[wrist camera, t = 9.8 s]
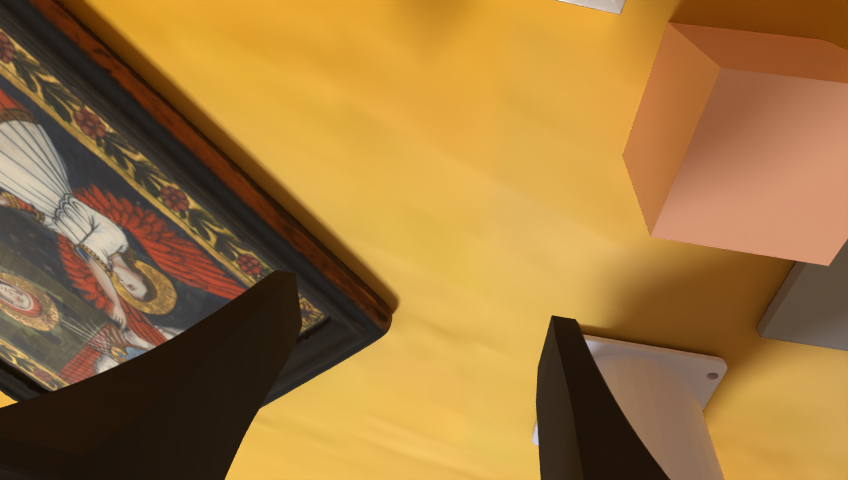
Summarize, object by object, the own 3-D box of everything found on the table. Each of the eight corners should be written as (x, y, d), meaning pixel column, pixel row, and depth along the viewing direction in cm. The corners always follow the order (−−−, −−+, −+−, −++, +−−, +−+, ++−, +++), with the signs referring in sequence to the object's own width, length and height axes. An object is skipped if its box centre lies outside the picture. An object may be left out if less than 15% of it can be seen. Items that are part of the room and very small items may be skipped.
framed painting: (448, 269, 25) (438, 306, 22) (190, 472, 44) (170, 503, 41) (-399, -439, 16) (-562, -498, 14) (-263, 201, 35) (-320, 221, 32)
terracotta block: (753, 174, 19) (828, 265, 14) (622, 155, 19) (650, 236, 15) (823, 39, 16) (948, 95, 11) (667, 21, 17) (720, 68, 12)
